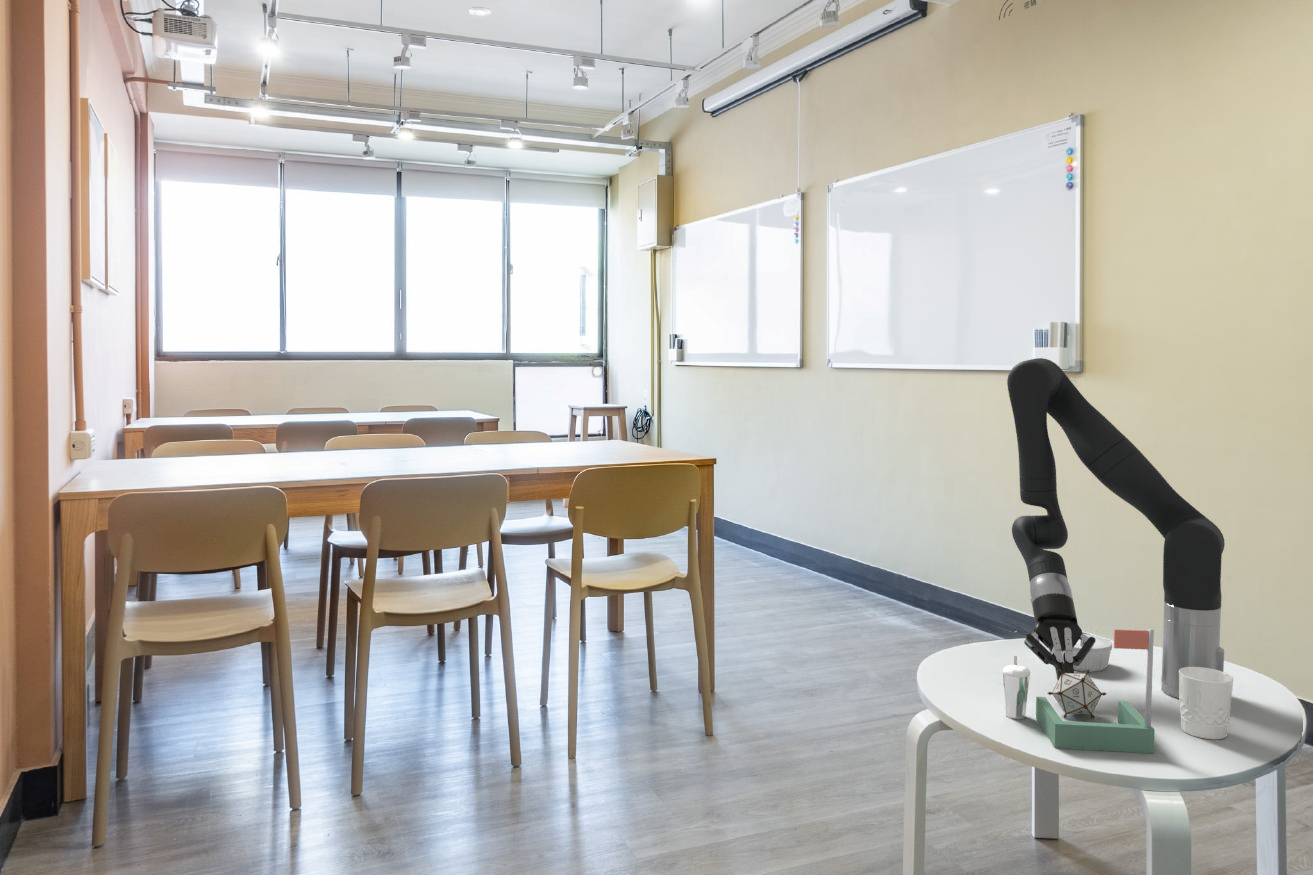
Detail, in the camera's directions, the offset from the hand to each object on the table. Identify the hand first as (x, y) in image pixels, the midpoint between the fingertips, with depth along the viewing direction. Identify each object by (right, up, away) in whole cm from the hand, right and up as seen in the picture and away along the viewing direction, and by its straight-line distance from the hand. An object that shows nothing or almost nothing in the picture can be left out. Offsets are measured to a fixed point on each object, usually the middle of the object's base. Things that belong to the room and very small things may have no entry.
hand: (1067, 684), depth 165 cm
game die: (-1, -4, -5) cm, 7 cm away
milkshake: (-11, -4, -5) cm, 13 cm away
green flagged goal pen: (-2, -5, -14) cm, 15 cm away
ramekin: (+13, -2, +22) cm, 26 cm away
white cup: (+17, -5, -13) cm, 22 cm away
